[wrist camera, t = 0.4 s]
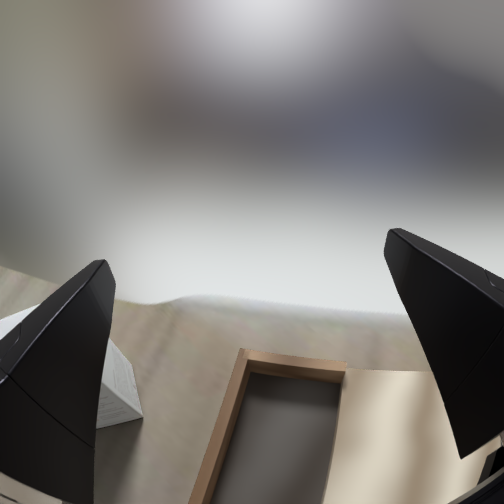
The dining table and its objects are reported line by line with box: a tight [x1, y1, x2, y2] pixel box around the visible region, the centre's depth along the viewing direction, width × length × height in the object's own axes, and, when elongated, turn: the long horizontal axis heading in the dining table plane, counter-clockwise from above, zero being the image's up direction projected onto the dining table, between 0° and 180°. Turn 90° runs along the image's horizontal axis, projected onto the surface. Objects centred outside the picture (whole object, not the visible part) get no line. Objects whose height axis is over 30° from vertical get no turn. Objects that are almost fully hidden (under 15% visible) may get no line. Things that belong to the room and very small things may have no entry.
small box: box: [0, 304, 143, 429], centre depth 18 cm, size 8×6×10 cm
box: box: [188, 348, 503, 504], centre depth 14 cm, size 30×14×3 cm, turn 76°
